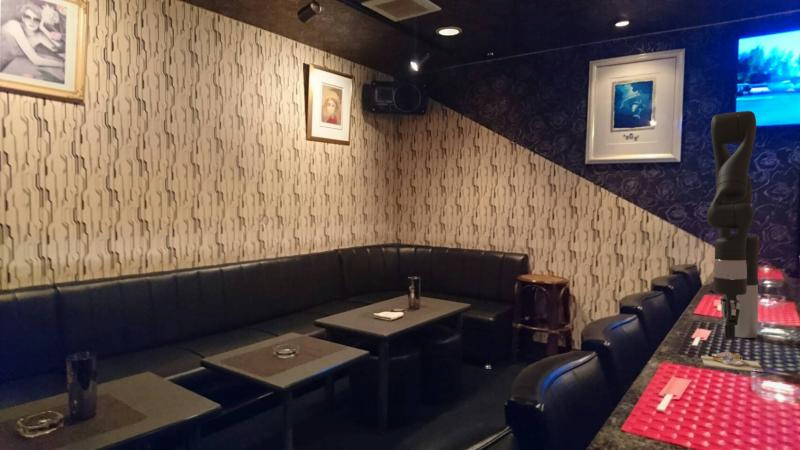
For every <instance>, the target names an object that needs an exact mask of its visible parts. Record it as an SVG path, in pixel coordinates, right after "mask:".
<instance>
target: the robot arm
mask: <svg viewBox="0 0 800 450" xmlns="http://www.w3.org/2000/svg"><path fill="white" fill-rule="evenodd" d="M710 132H711V140H712V149H713V156H714V164H715V191H716V193H715V194H714V198H713V200H712V202H711V204H710V205H709V208H708V210H707V212H706V213H707V214H706V221H707V224H708V225H709V226H710V227H711V228H713V229H718V238H717V239H715V242H714V262H713V292H714V293H717V294H721V295H722V298H720V301H719V302H720V306H721V307H720V308H721V309H720V310H721V316H722V317H721V319H722V322H723V333H724V334H723V335H724V338H725V339H726V340H735V339H736V338H741V339H745V338H746V339H755V338H758V337H759V336H758V335H759V334H758V331H759V330H758V329H759V275H758V274H759V255H760V241H759V239H758V237H757V236H756V235H749V233H750V232H749V231H750V230H751V226H752V224H753V221H754V219H755V210H754V208H753V207H752V205H751V203H752V199H753V198H752V197H753V195H752V194H753V193H752V192H753V191H752V190H753V189H752V188H753V187H752V180H751V178H750V177H749V167H750V163H751V159H752V155H753V149H754V144H755V140H756V135H757V118H756V115H755V113H754V112H753V111H751V110H742V111H735V112H726V113H720V114H715V115H714V116H713V117H712V119H711V122H710ZM739 143H740V144H739ZM730 144H739V146H738V147H737V149H736V150H735V151H734V153H733V154H732V155H731V154H730V152H729V150H728V148H727V145H730ZM735 229H736V230H737V231H736V233H735V234H731V231H732V230H735Z"/></svg>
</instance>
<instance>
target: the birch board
mask: <svg viewBox="0 0 800 450" xmlns="http://www.w3.org/2000/svg"><path fill="white" fill-rule="evenodd" d="M700 357H701V361H702V362H703V365H704V367H705V368H715V369H724V370H734V371H743V372H744V371H745V372H751V373H753V372H752V371H753V370H755V369H758V370H764V369H763V367H762V366H761V364H760V363H759V362H758V361H756V360H745V359H742V361H738V362H734V363H729V364H725V363H723V362H720V361H716V360H714V359H712V356H709V355H708V356H707V355H701V356H700ZM716 358H719V359H722V358H721V357H716ZM724 361H726V360H724ZM727 361H729V360H727Z"/></svg>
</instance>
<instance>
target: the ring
mask: <svg viewBox="0 0 800 450" xmlns="http://www.w3.org/2000/svg"><path fill="white" fill-rule="evenodd" d="M711 357H712V359H714V360H716V361H720V362H723V363H725V364H729V363H734V362H738V361H742V360H743V356H742V355H741V354H737V353H732V352H730V351H723V352H718V353H711ZM716 357H718V358H716ZM719 358H722V359H719ZM724 360H726V361H724ZM727 360H729V361H727Z"/></svg>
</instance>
